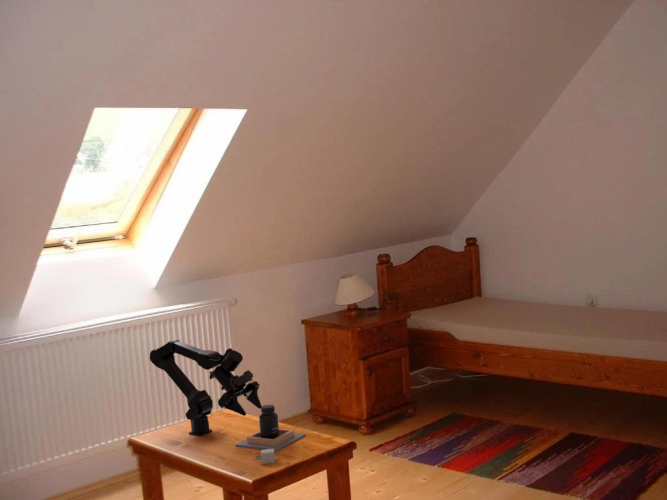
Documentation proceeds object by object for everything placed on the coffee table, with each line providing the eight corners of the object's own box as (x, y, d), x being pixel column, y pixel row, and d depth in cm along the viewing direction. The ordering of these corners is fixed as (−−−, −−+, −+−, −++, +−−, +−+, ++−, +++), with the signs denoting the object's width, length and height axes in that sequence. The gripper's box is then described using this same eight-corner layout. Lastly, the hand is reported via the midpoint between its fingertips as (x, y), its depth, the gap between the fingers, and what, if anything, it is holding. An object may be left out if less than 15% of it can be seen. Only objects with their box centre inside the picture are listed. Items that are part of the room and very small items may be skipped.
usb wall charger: (275, 463, 261) (273, 451, 260) (253, 466, 260) (252, 454, 260) (274, 459, 265) (273, 448, 264) (254, 462, 264) (252, 450, 264)
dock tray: (235, 446, 283) (234, 439, 282) (265, 431, 298) (265, 424, 298) (276, 451, 273) (276, 443, 273) (305, 435, 288) (305, 428, 288)
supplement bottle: (278, 441, 282) (275, 408, 281) (259, 442, 282) (256, 409, 281) (281, 435, 288) (278, 403, 288) (262, 436, 289) (259, 404, 288)
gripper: (221, 371, 282) (248, 404, 277) (253, 359, 298) (279, 390, 293) (206, 391, 287) (232, 424, 282) (238, 379, 302) (264, 409, 297)
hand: (253, 411), depth 288 cm, fingers open, 9 cm apart
